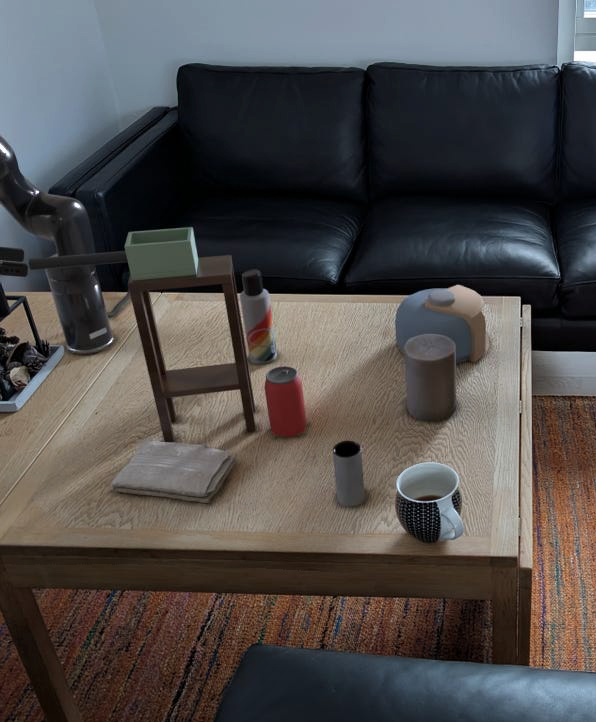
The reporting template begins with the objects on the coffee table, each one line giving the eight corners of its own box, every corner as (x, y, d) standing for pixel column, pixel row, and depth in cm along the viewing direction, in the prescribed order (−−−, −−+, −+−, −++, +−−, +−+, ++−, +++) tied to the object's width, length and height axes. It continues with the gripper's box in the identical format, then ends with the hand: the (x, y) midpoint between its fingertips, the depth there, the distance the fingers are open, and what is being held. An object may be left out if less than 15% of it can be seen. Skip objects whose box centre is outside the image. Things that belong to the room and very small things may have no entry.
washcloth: (212, 506, 136) (209, 491, 134) (109, 495, 138) (104, 480, 136) (240, 461, 146) (237, 447, 144) (143, 451, 148) (140, 437, 146)
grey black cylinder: (338, 489, 139) (333, 440, 134) (365, 488, 140) (361, 439, 134) (336, 507, 136) (331, 458, 130) (364, 506, 136) (360, 456, 131)
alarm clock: (495, 364, 174) (496, 313, 168) (399, 371, 171) (397, 319, 165) (481, 320, 190) (481, 272, 184) (393, 326, 188) (391, 278, 181)
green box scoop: (39, 273, 136) (29, 239, 132) (198, 260, 141) (192, 227, 138) (31, 289, 131) (20, 254, 128) (196, 275, 136) (190, 241, 133)
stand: (167, 418, 156) (132, 263, 140) (255, 407, 160) (231, 254, 143) (164, 443, 150) (127, 283, 133) (255, 431, 153) (230, 274, 136)
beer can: (313, 422, 156) (307, 368, 149) (295, 442, 150) (288, 387, 144) (282, 415, 157) (275, 361, 151) (264, 435, 152) (255, 380, 146)
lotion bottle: (270, 366, 172) (258, 279, 162) (244, 362, 173) (231, 276, 163) (281, 352, 177) (270, 267, 167) (256, 349, 178) (243, 264, 168)
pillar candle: (464, 400, 163) (465, 334, 155) (442, 427, 155) (441, 358, 147) (420, 388, 166) (419, 323, 158) (396, 414, 158) (393, 346, 151)
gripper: (-93, 242, 124) (30, 252, 133) (-90, 218, 135) (24, 230, 144) (-94, 289, 126) (27, 297, 135) (-91, 262, 137) (21, 271, 146)
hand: (25, 262), depth 139 cm, fingers open, 8 cm apart
